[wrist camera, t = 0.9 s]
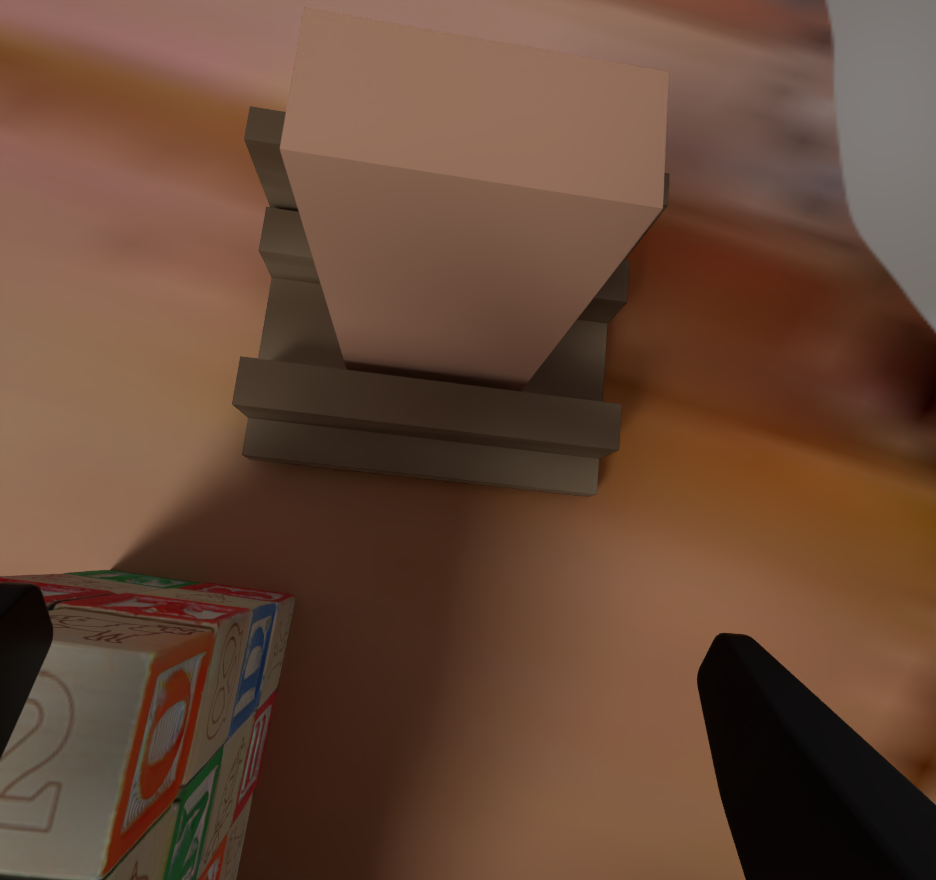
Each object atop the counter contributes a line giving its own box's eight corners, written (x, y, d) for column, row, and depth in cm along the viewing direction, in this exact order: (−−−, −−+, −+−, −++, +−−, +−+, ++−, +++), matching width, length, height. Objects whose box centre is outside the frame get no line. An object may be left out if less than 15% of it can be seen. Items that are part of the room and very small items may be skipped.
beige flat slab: (519, 392, 22) (662, 208, 10) (347, 371, 21) (279, 148, 9) (525, 325, 22) (669, 71, 10) (356, 302, 21) (303, 7, 10)
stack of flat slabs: (588, 496, 22) (656, 478, 16) (249, 459, 21) (190, 425, 15) (603, 265, 24) (669, 173, 18) (288, 220, 23) (250, 106, 17)
